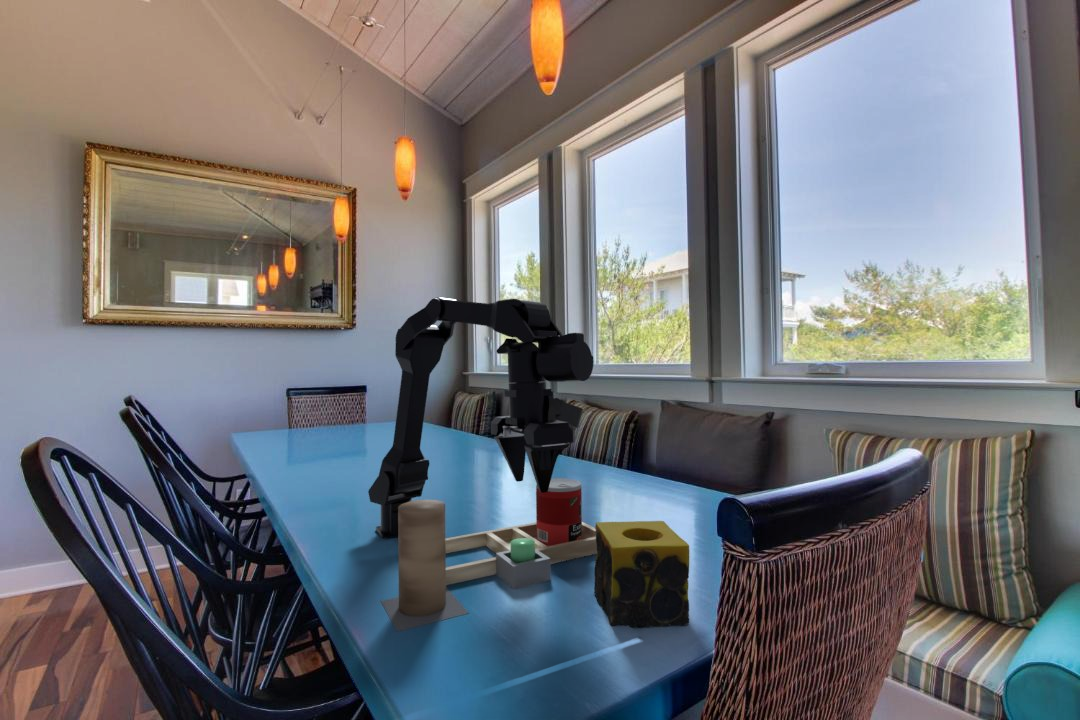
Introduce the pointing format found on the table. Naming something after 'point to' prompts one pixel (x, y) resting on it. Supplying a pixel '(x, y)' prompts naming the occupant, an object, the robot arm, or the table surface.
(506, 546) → the birch frame
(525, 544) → the button
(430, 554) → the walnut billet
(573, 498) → the canned food
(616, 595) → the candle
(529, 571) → the grey square box
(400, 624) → the rubber mat
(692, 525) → the table surface
